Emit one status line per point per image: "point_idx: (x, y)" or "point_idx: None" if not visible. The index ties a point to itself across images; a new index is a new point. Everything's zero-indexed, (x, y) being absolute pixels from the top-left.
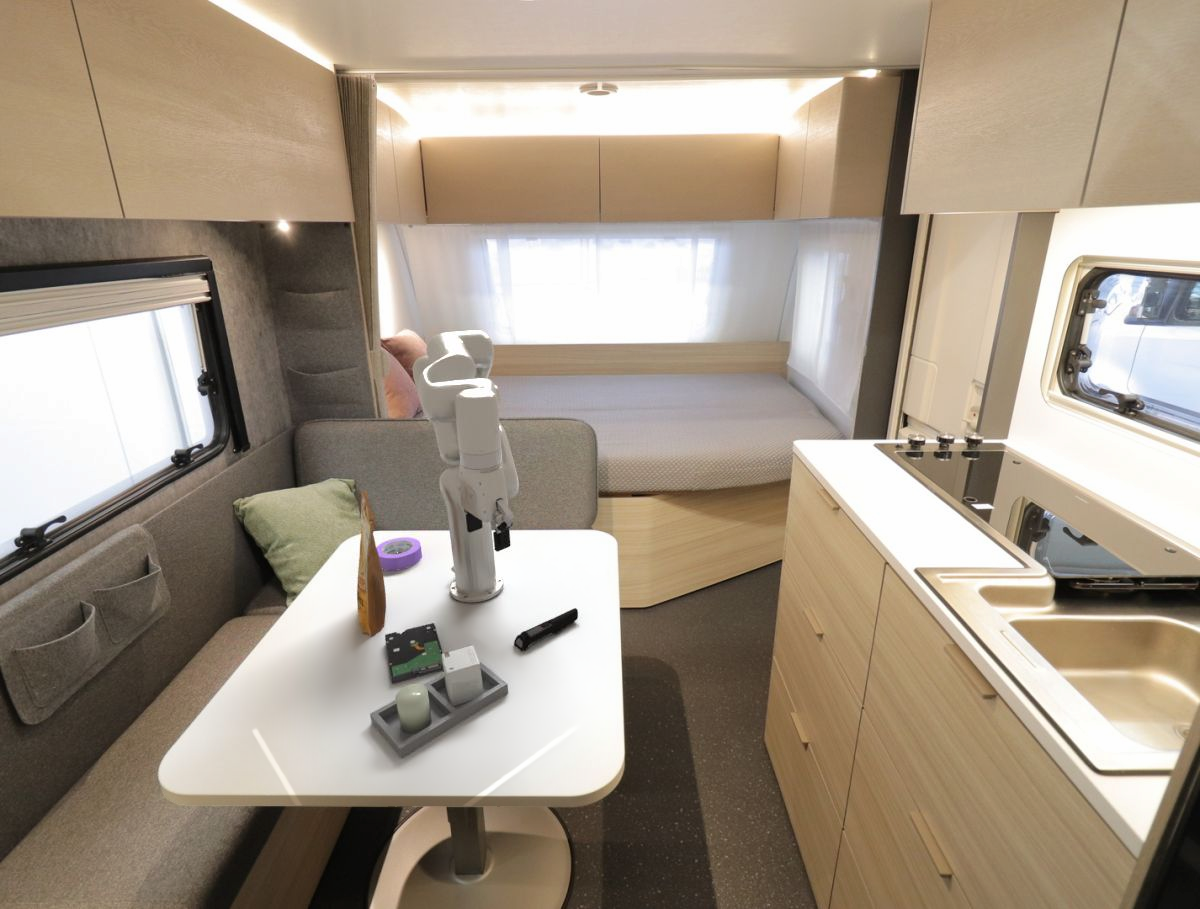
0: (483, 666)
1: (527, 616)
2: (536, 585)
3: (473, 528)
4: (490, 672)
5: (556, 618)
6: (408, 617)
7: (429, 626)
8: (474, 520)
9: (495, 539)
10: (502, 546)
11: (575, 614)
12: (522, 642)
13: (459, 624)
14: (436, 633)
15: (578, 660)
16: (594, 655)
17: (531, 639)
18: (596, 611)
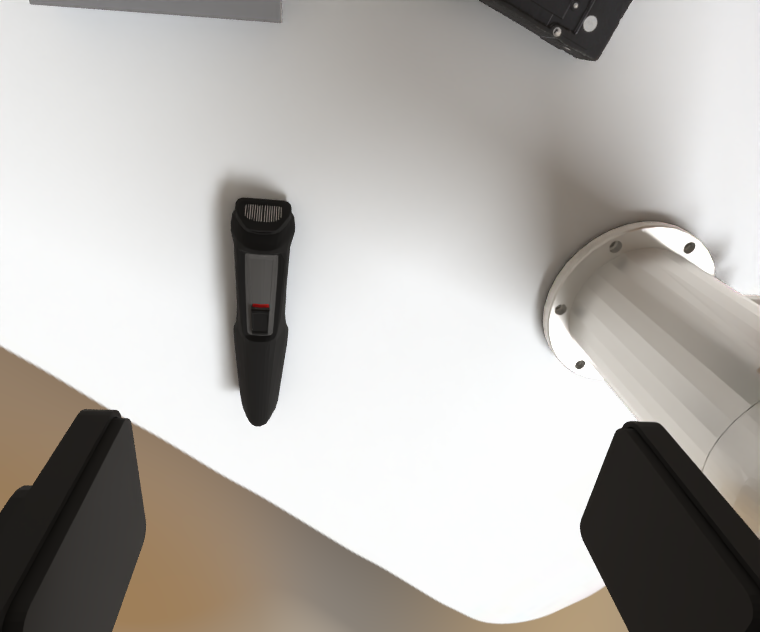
0: (197, 7)
1: (381, 319)
2: (479, 419)
3: (620, 481)
4: (143, 3)
5: (256, 360)
6: (727, 38)
7: (593, 32)
8: (662, 572)
9: (5, 534)
10: (24, 493)
11: (245, 408)
12: (245, 217)
13: (531, 145)
14: (535, 22)
15: (76, 290)
16: (67, 334)
17: (235, 246)
18: (246, 452)
